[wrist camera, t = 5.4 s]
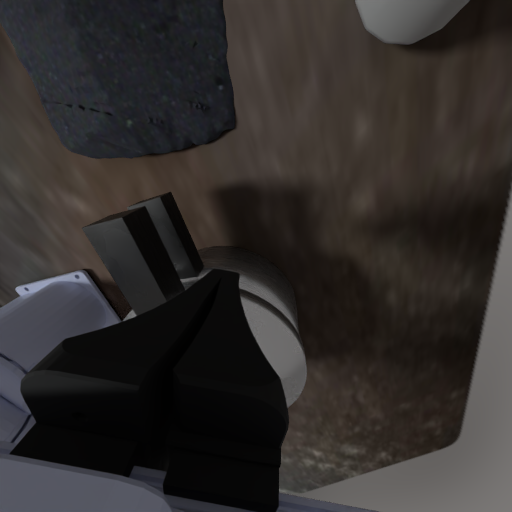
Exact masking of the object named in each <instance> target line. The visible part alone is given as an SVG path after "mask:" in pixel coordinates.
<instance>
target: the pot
mask: <svg viewBox="0 0 512 512" xmlns="http://www.w3.org/2000/svg"><path fill="white" fill-rule="evenodd" d="M143 206H146V208H147V210H148V213H149V215H150V217H151V219H152V221H153V223H154V225H155V227H156V229H157V231H158V233H159V236H160V238H161V240H162V242H163V244H164V246H165V248H166V250H167V252H168V254H169V257H170V259H171V261H172V263H173V265H174V267H175V269H176V271H177V273H178V275H179V277H180V280H181V282H190V281H198V280H200V279H201V278H202V277H204V276H205V275H206V274H207V273H209V272H210V271H211V270H212V269H214V268H215V269H221V270H226V271H232V272H238V273H239V274H240V279H239V288H240V289H243V290H246V291H248V292H251V293H253V294H255V295H257V296H259V297H261V298H262V299H264V300H266V301H267V302H269V303H271V304H272V305H273V306H275V307H276V308H277V309H278V310H280V311H281V312H282V313H283V314H284V315H285V316H286V317H287V318H288V319H289V320H290V322H291V323H292V324H293V326H294V327H295V328H296V330H297V332H298V334H299V328H298V317H297V307H296V299H295V294H294V291H293V289H292V286H291V285H290V283H289V281H288V279H287V278H286V277H285V275H284V274H283V273H282V272H281V271H280V270H279V269H278V268H277V267H276V266H275V265H274V264H273V263H271V262H270V261H269V260H267V259H265V258H264V257H262V256H260V255H258V254H256V253H253V252H251V251H248V250H245V249H241V248H236V247H227V246H216V247H208V248H203V249H200V250H197V249H196V247H195V244H194V242H193V240H192V238H191V235H190V233H189V231H188V229H187V227H186V224H185V222H184V220H183V218H182V215H181V213H180V211H179V209H178V206H177V204H176V202H175V200H174V198H173V195H172V193H171V192H169V193H165V194H162V195H159V196H156V197H153V198H150V199H146V200H143V201H140V202H138V203H136V204H133V205H131V206H129V207H127V208H128V210H132V209H135V208H139V207H143Z"/></svg>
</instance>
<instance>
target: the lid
mask: <svg viewBox="0 0 512 512" xmlns="http://www.w3.org/2000/svg"><path fill="white" fill-rule="evenodd" d="M82 229H83V231H84V232H85V234H86V236H87V237H88V239H89V240H90V242H91V244H92V245H93V247H94V248H95V250H96V252H97V253H98V255H99V256H100V258H101V260H102V261H103V263H104V264H105V266H106V268H107V269H108V271H109V272H110V274H111V276H112V277H113V279H114V280H115V282H116V284H117V285H118V287H119V288H120V290H121V292H122V293H123V295H124V296H125V298H126V300H127V301H128V303H129V304H130V306H131V308H132V310H131V311H130V313H129V314H128V315H127V316H126V317H125V319H124V320H123V321H125V320H128V319H131V318H133V317H135V316H138V315H140V314H142V313H145V312H147V311H149V310H151V309H154V308H156V307H158V306H160V305H161V304H163V303H165V302H167V301H169V300H171V299H172V298H174V297H176V296H177V295H179V294H180V293H182V292H183V291H185V290H186V289H188V288H189V287H190V286H192V285H193V284H194V283H196V282H197V281H190V282H181V280H180V277H179V275H178V273H177V271H176V269H175V267H174V265H173V263H172V261H171V259H170V257H169V254H168V252H167V250H166V248H165V246H164V244H163V242H162V240H161V238H160V236H159V233H158V231H157V229H156V227H155V225H154V223H153V221H152V219H151V217H150V215H149V213H148V210H147V208H146V206H143V207H139V208H135V209H132V210H128V211H124V212H121V213H117V214H113V215H110V216H107V217H105V218H103V219H101V220H99V221H96V222H94V223H92V224H90V225H87V226H85V227H83V228H82ZM239 291H240V297H241V302H242V306H243V309H244V313H245V316H246V319H247V321H248V324H249V326H250V329H251V331H252V333H253V335H254V337H255V339H256V341H257V343H258V345H259V347H260V348H261V350H262V352H263V354H264V355H265V357H266V358H267V360H268V362H269V363H270V364H271V366H272V367H273V369H274V370H275V372H276V373H277V374H278V376H279V377H280V379H281V382H282V386H283V389H284V393H285V398H286V402H287V408H288V407H289V406H290V405H291V404H293V403H294V402H295V401H296V399H297V398H298V397H299V395H300V394H301V392H302V390H303V388H304V385H305V381H306V375H307V368H306V359H305V351H304V346H303V343H302V340H301V337H300V335H299V334H298V332H297V330H296V328H295V327H294V326H293V324H292V323H291V322H290V320H289V319H288V318H287V317H286V316H285V315H284V314H283V313H282V312H281V311H280V310H278V309H277V308H276V307H275V306H273V305H272V304H271V303H269V302H267V301H266V300H264V299H262V298H261V297H259V296H257V295H255V294H253V293H251V292H248V291H246V290H243V289H240V288H239ZM123 321H122V322H123Z"/></svg>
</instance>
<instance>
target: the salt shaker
mask: <svg viewBox="0 0 512 512" xmlns="http://www.w3.org/2000/svg"><path fill="white" fill-rule="evenodd" d="M469 1H470V0H355V3H356V6H357V8H358V11H359V14H360V16H361V19H362V22H363V24H364V27H365V29H366V30H367V31H368V32H370V33H371V34H372V35H374V36H375V37H377V38H378V39H379V40H381V41H382V42H383V43H389V44H403V45H410V44H413V43H415V42H417V41H419V40H421V39H423V38H425V37H427V36H429V35H431V34H433V33H435V32H436V31H438V30H440V29H442V28H443V27H444V26H445V25H446V24H447V23H448V22H449V21H450V20H451V19H452V18H453V17H454V16H455V15H456V14H457V13H458V12H459V11H460V10H461V9H462V8H463V7H464V6H465V5H466V4H467V3H468V2H469Z"/></svg>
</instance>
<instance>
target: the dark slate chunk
mask: <svg viewBox="0 0 512 512" xmlns="http://www.w3.org/2000/svg"><path fill="white" fill-rule="evenodd" d="M0 23H1V24H2V26H3V28H4V29H5V31H6V32H7V35H8V36H9V38H10V39H11V42H12V44H13V46H14V48H15V51H16V54H17V57H18V58H19V60H20V61H21V63H22V64H23V66H24V67H25V68H26V70H27V72H28V74H29V75H30V77H31V79H32V81H33V83H34V85H35V87H36V90H37V92H38V94H39V96H40V100H41V103H42V105H43V107H44V109H45V111H46V113H47V116H48V118H49V120H50V122H51V124H52V126H53V128H54V130H55V131H56V132H57V134H58V136H59V138H60V141H61V143H62V144H63V145H64V146H65V147H66V148H67V149H68V150H70V151H71V152H74V153H77V154H81V155H84V156H87V157H91V158H117V157H125V158H133V157H141V156H143V155H147V154H152V153H169V152H173V151H176V150H181V149H183V148H187V147H189V146H191V145H192V144H193V143H194V144H196V145H202V144H207V143H208V142H209V141H211V140H215V139H216V138H218V137H219V136H220V135H221V133H222V132H223V131H225V130H227V129H234V125H235V118H234V116H235V113H234V109H233V99H234V95H233V87H232V82H231V79H230V75H229V69H228V65H227V59H226V54H227V47H228V45H227V40H226V22H225V16H224V13H223V0H0Z"/></svg>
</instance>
